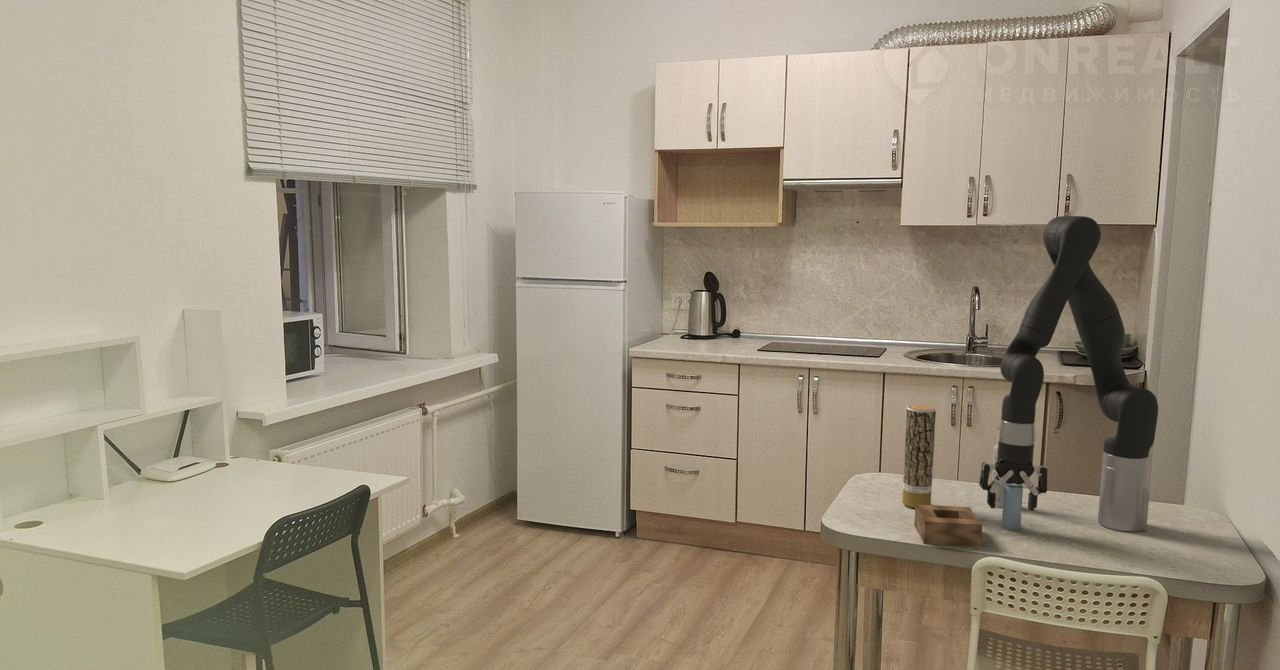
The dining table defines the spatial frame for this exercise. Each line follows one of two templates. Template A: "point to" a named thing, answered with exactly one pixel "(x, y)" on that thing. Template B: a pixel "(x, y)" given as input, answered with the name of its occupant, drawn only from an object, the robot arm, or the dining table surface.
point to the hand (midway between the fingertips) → (1011, 508)
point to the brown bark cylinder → (918, 455)
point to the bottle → (1000, 490)
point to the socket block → (948, 525)
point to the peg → (1012, 507)
